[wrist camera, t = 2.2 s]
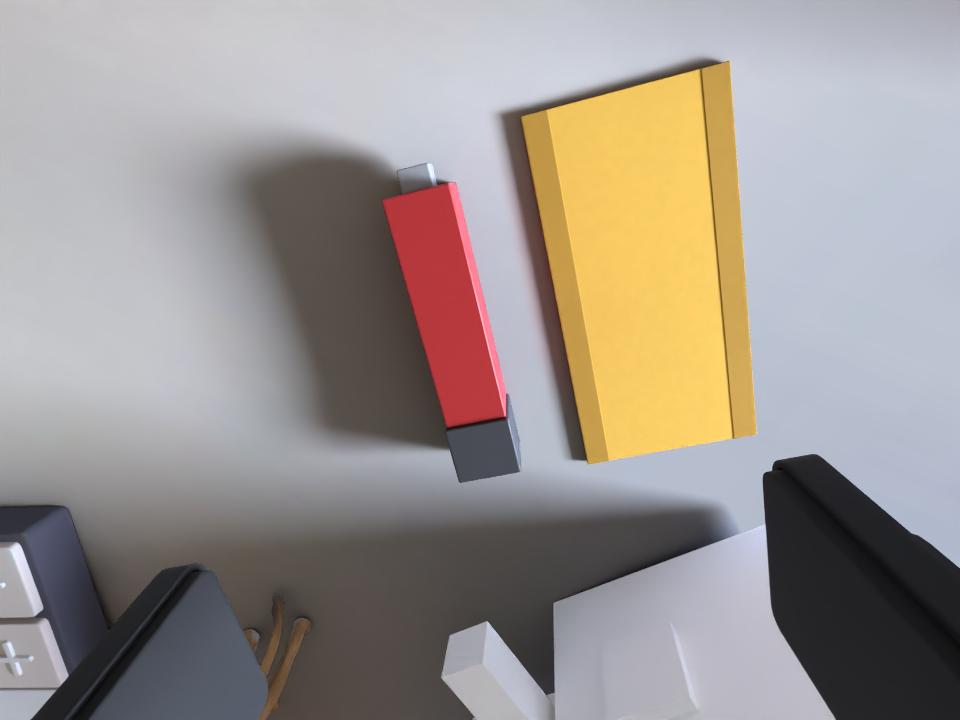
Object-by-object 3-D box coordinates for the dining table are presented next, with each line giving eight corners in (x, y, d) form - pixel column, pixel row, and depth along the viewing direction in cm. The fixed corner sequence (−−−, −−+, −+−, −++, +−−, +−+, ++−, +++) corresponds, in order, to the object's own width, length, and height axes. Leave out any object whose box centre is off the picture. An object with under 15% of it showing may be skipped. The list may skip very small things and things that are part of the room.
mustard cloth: (726, 62, 22) (730, 60, 22) (754, 431, 27) (757, 434, 27) (520, 117, 23) (520, 116, 23) (587, 461, 29) (588, 464, 28)
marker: (453, 159, 24) (445, 156, 21) (520, 441, 28) (521, 472, 25) (387, 176, 24) (370, 175, 21) (464, 451, 29) (459, 483, 26)
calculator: (12, 542, 28) (89, 748, 32) (76, 499, 32) (136, 687, 36) (-171, 546, 29) (-73, 747, 33) (-86, 504, 33) (-8, 687, 37)
